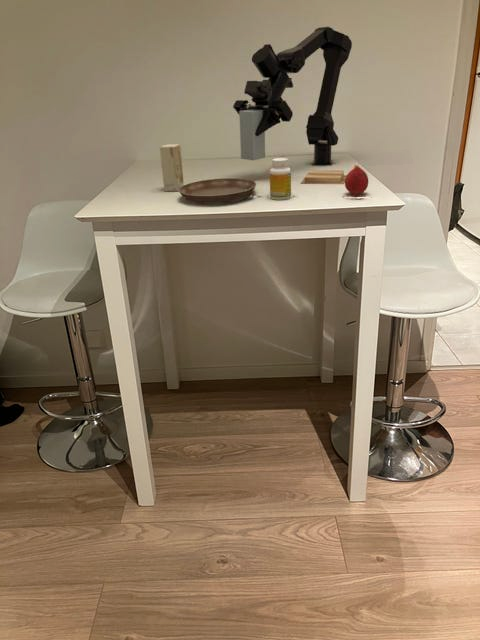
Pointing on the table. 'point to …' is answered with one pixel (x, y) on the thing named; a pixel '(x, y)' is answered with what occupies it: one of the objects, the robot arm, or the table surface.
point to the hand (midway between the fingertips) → (249, 134)
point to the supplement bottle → (280, 179)
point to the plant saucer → (217, 191)
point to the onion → (356, 181)
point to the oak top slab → (324, 177)
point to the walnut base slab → (325, 183)
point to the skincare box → (171, 167)
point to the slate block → (251, 135)
